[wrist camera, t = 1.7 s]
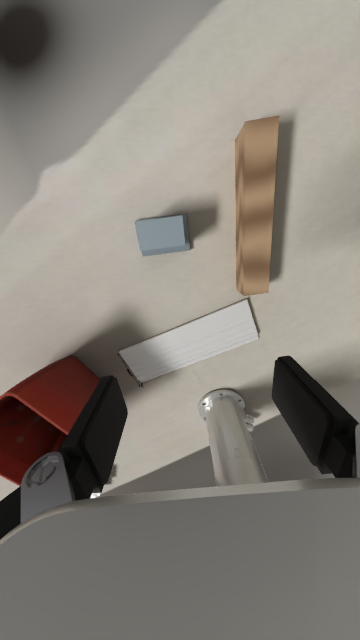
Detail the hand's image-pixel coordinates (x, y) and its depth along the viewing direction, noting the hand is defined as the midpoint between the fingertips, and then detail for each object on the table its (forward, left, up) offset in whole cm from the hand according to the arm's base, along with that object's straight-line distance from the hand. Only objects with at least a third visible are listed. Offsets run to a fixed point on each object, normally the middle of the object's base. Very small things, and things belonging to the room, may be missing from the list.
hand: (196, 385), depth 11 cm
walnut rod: (-6, -15, -29) cm, 33 cm away
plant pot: (+16, +34, -29) cm, 47 cm away
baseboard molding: (-7, +13, -29) cm, 33 cm away
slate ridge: (+7, -7, -29) cm, 30 cm away
